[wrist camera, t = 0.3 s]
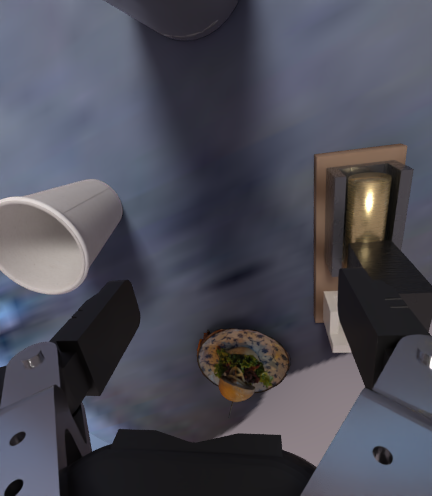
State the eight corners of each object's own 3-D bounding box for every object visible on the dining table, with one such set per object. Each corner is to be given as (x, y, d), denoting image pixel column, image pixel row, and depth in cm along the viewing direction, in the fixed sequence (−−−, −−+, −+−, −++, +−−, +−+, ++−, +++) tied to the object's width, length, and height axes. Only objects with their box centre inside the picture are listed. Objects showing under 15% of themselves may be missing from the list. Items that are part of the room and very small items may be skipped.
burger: (307, 358, 38) (318, 414, 31) (241, 394, 43) (238, 448, 36) (243, 302, 35) (240, 350, 28) (180, 347, 40) (165, 397, 33)
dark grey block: (342, 175, 24) (388, 221, 16) (384, 170, 24) (456, 215, 15) (338, 267, 28) (373, 343, 20) (373, 265, 28) (425, 343, 19)
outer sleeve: (326, 167, 25) (335, 177, 22) (394, 159, 24) (413, 169, 21) (324, 258, 29) (331, 276, 26) (383, 254, 28) (397, 273, 25)
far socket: (323, 291, 31) (334, 322, 27) (378, 288, 30) (398, 320, 26) (323, 319, 33) (332, 352, 29) (375, 317, 32) (393, 352, 28)
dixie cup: (45, 205, 32) (-36, 249, 23) (82, 147, 28) (4, 173, 19) (108, 254, 34) (56, 312, 25) (150, 206, 30) (107, 253, 21)
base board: (314, 154, 26) (316, 157, 25) (400, 143, 25) (407, 146, 24) (313, 315, 34) (315, 322, 33) (378, 313, 33) (382, 320, 32)
